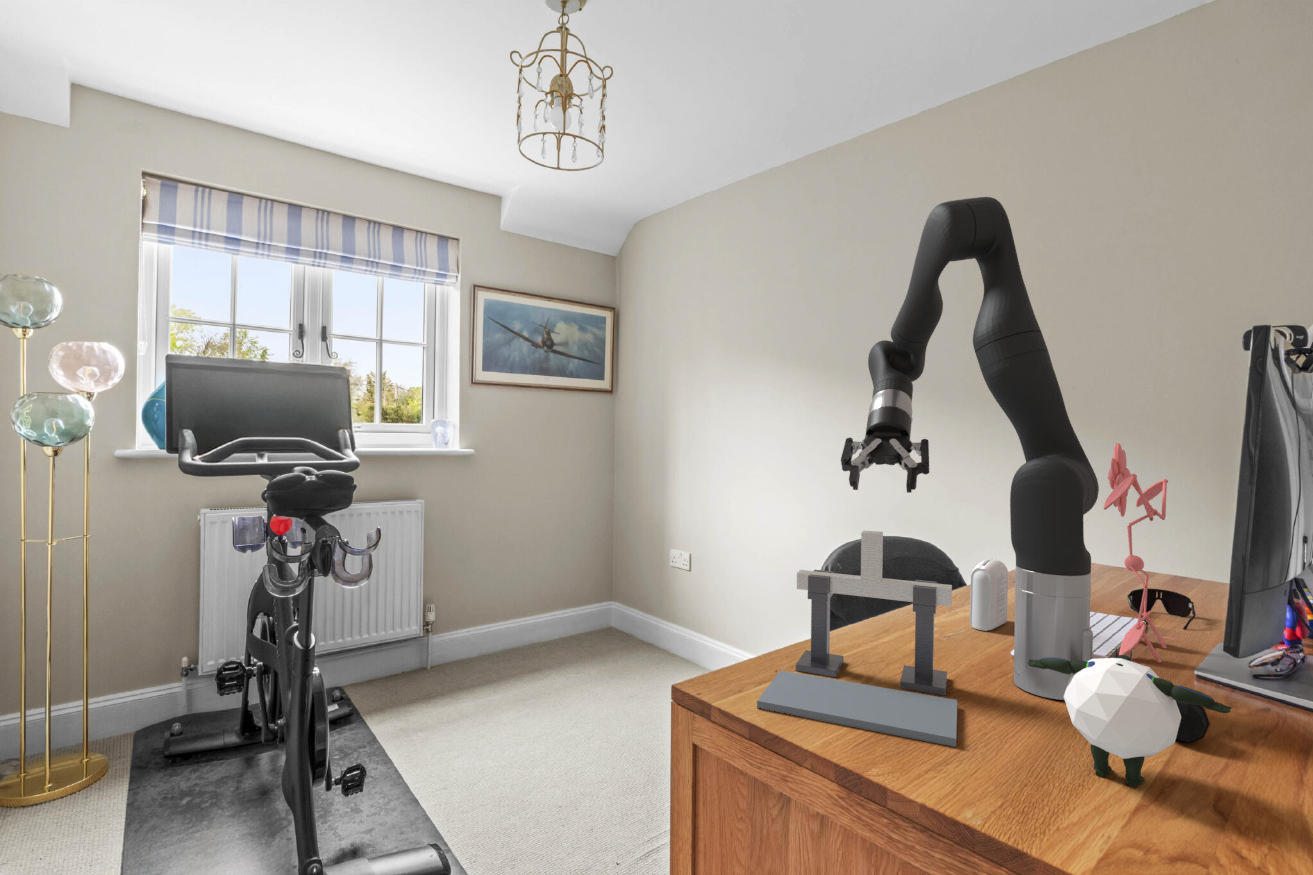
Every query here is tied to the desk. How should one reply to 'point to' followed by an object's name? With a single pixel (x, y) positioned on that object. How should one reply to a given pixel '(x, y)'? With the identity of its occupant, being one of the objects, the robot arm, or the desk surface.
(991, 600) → the photo printer
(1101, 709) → the figurine
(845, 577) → the rail
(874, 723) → the mat
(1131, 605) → the sunglasses
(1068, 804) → the desk surface
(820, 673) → the hook stand
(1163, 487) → the figurine
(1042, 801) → the desk surface
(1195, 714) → the microphone
